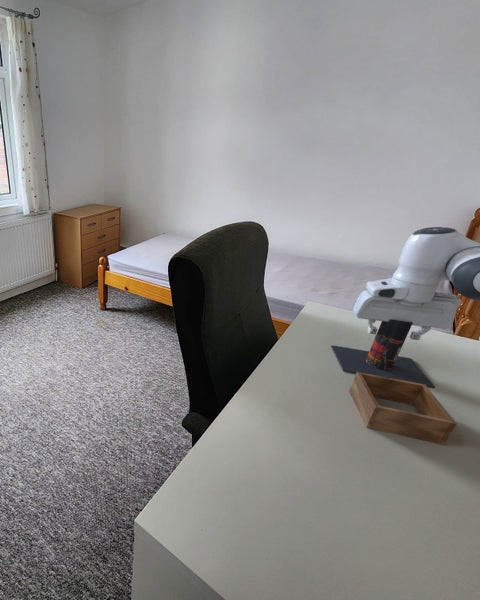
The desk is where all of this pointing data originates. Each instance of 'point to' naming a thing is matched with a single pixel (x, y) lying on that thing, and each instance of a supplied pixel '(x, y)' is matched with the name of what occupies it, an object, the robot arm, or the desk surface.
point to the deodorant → (388, 344)
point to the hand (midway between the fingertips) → (392, 335)
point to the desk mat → (401, 370)
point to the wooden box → (423, 426)
